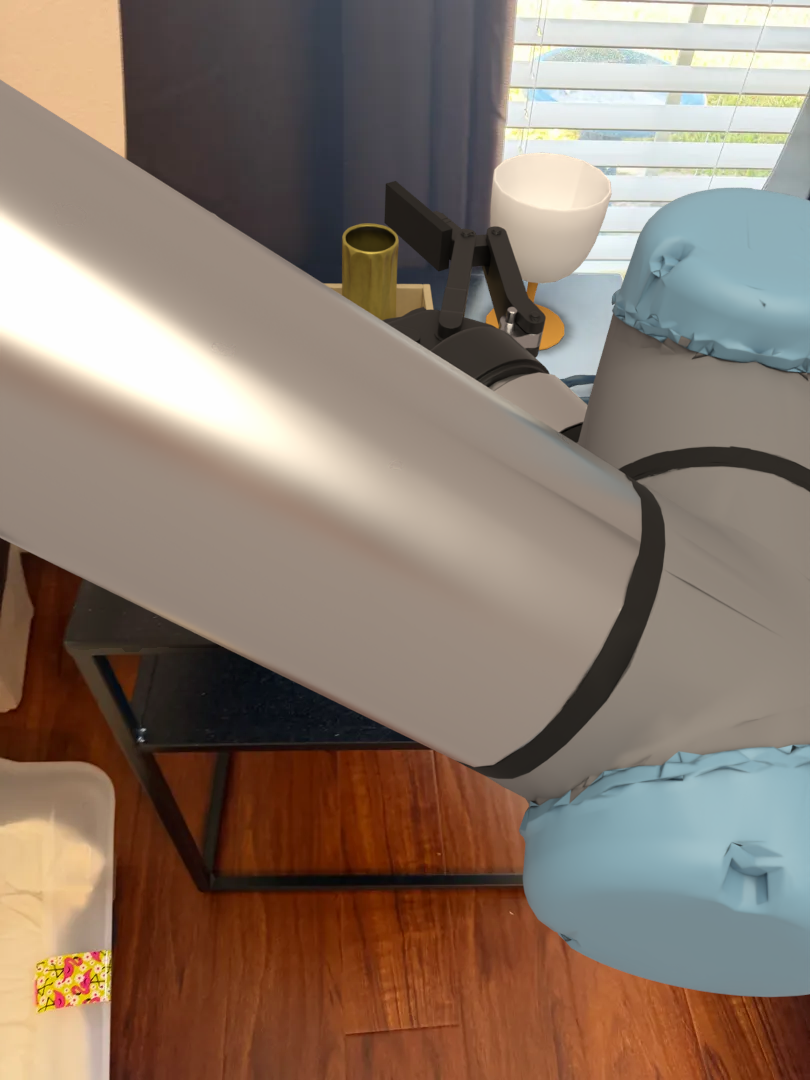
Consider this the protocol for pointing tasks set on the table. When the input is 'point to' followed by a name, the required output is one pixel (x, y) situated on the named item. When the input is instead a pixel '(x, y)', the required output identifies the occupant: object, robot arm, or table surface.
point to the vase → (370, 268)
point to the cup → (548, 220)
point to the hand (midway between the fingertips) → (296, 226)
